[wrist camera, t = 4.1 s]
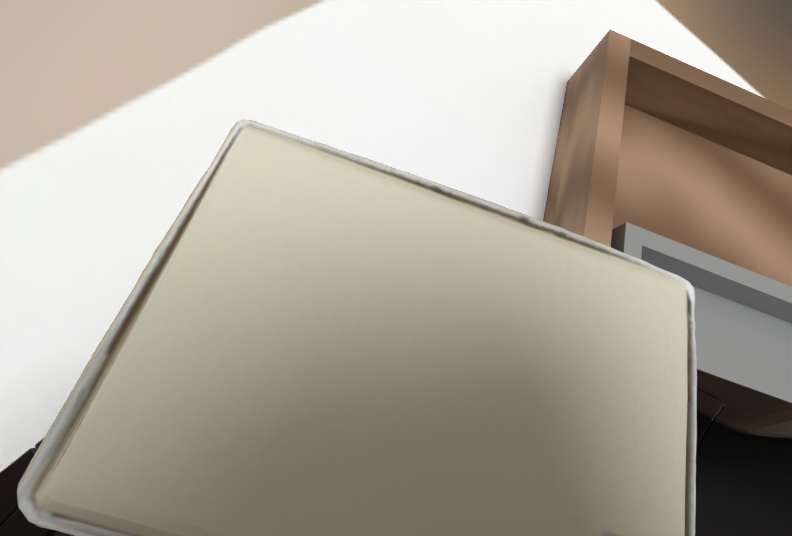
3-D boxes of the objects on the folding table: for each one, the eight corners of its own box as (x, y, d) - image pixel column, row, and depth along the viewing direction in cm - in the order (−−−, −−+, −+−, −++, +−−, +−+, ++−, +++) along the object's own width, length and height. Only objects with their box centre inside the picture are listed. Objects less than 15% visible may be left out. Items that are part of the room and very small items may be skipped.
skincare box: (436, 361, 16) (729, 281, 5) (408, 474, 15) (739, 733, 3) (288, 311, 16) (232, 89, 4) (242, 423, 14) (-30, 532, 3)
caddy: (836, 522, 18) (954, 550, 15) (509, 416, 16) (559, 421, 13) (800, 180, 25) (875, 147, 21) (567, 81, 23) (610, 29, 20)
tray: (917, 844, 13) (1154, 1018, 10) (474, 740, 12) (551, 901, 8) (849, 340, 20) (974, 327, 16) (555, 228, 18) (619, 184, 14)
